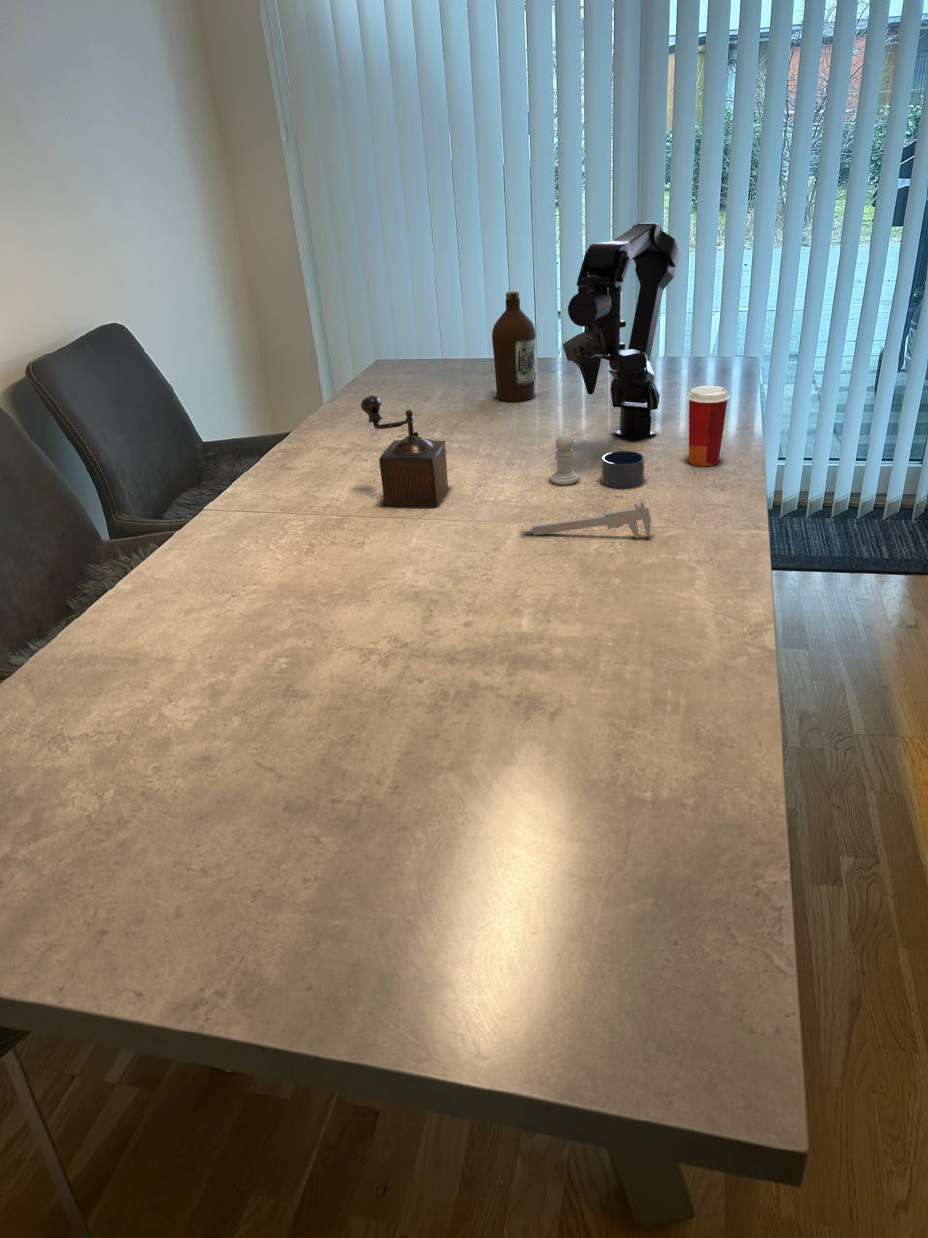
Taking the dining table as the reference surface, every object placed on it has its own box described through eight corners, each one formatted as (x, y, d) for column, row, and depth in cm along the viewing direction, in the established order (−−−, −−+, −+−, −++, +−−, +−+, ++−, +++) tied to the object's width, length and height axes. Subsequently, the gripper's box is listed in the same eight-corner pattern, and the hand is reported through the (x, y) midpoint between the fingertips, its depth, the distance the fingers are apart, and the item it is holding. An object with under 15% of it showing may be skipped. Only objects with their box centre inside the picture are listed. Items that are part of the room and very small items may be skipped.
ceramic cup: (593, 479, 169) (593, 456, 167) (626, 471, 172) (627, 448, 170) (618, 491, 163) (618, 467, 161) (651, 482, 166) (652, 458, 164)
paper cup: (720, 454, 177) (726, 384, 170) (726, 467, 170) (733, 394, 164) (680, 455, 178) (684, 385, 171) (685, 468, 171) (689, 396, 165)
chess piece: (584, 479, 169) (584, 433, 165) (566, 487, 166) (566, 440, 162) (561, 474, 173) (561, 428, 168) (544, 481, 169) (543, 435, 165)
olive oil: (485, 398, 224) (481, 294, 212) (514, 389, 230) (511, 287, 218) (516, 405, 217) (513, 297, 205) (545, 395, 223) (544, 290, 211)
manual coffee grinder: (451, 486, 170) (444, 392, 162) (437, 507, 161) (430, 409, 152) (373, 484, 174) (363, 392, 165) (356, 506, 164) (344, 409, 155)
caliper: (650, 536, 145) (651, 500, 142) (649, 539, 144) (651, 502, 141) (525, 532, 149) (524, 497, 146) (524, 535, 148) (523, 499, 145)
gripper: (542, 315, 170) (543, 396, 178) (599, 329, 156) (598, 417, 163) (590, 307, 175) (589, 386, 182) (650, 320, 160) (647, 406, 168)
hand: (604, 398), depth 174 cm, fingers open, 9 cm apart
